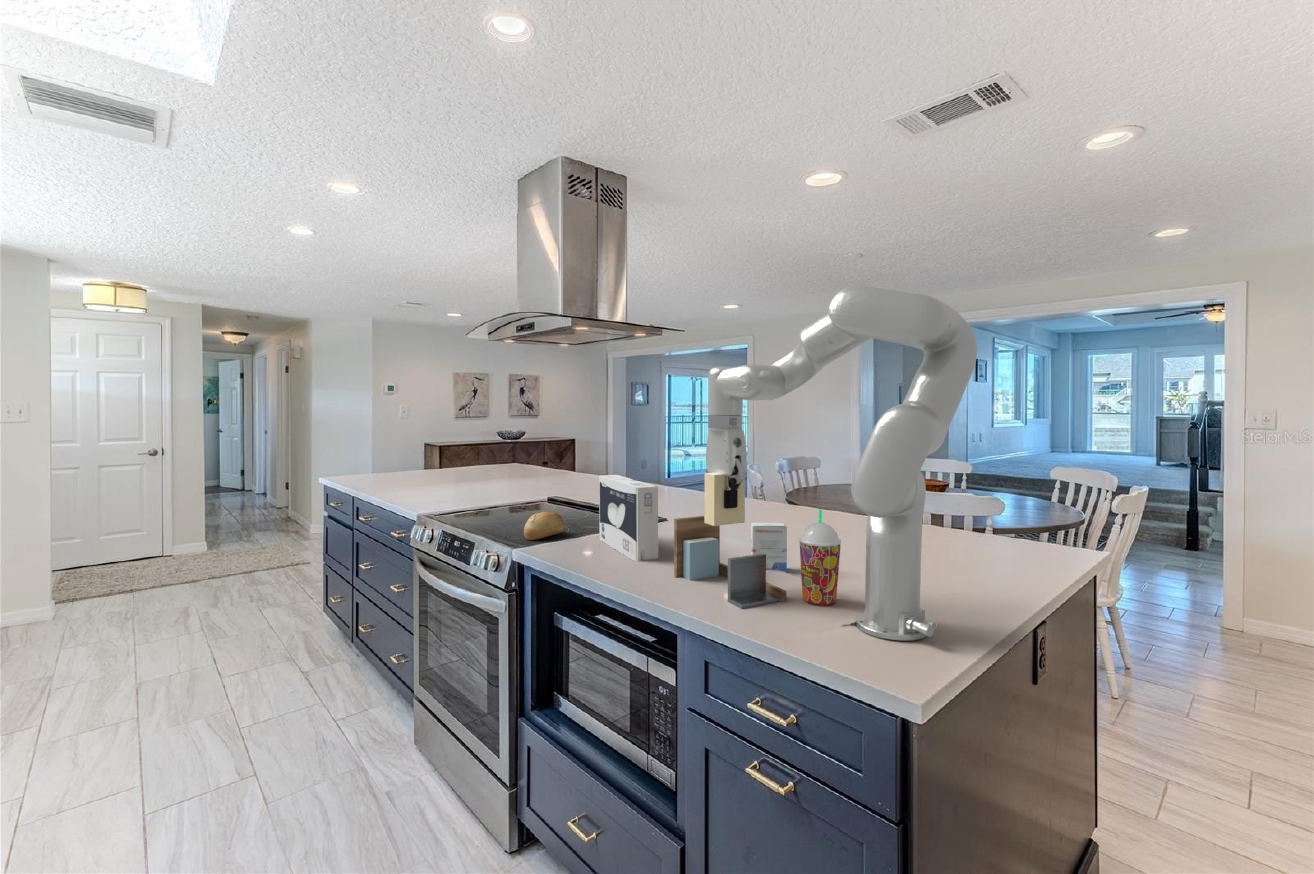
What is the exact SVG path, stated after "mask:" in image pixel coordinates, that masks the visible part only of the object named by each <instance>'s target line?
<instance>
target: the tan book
mask: <svg viewBox="0 0 1314 874" xmlns="http://www.w3.org/2000/svg"><path fill="white" fill-rule="evenodd" d="M732 475H734V474H733V473H732ZM732 479H733V478H730V482H731V481H732ZM724 490H726V485H725V476H724V475H722V474H717V473H706V472H705V473H704V501H703V502H704V510H703V511H704V513H703V514H704V515H703V516H704V523H707V524H710V525H713V526H719V525H720V526H726V525H727V526H728V525H733V524H734V525H735V524H736V525H737V524H745V523H746V520H745V519H746V509H745V508H746V478H745V479H744V480H743V481H742V482H741V484H740V485H739V490H738V504H737V508H729V509H726V508H724Z"/></svg>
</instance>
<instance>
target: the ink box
mask: <svg viewBox="0 0 1314 874" xmlns="http://www.w3.org/2000/svg"><path fill="white" fill-rule="evenodd" d="M750 525H751V526H750V527H751V528H750V532H751V533H750V555H756V554H766V570H779V571H781V572H784V573H787V571H788V566H787V564H788V561H787V558H788V553H787V552H788V537H787V536H788V530H787V529H788V528H787V527H788V526H787V525H786V524H785V523H783V522H751V523H750Z"/></svg>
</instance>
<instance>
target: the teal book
mask: <svg viewBox="0 0 1314 874" xmlns="http://www.w3.org/2000/svg"><path fill="white" fill-rule="evenodd" d="M719 574H720V573H719V539H716V538H713V537H708V538H700V539H692V540H683V577H682V578H685V579H686V580H688V581H694V580H701V579H706V578H712V577H719V576H720V575H719Z"/></svg>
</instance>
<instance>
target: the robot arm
mask: <svg viewBox="0 0 1314 874" xmlns="http://www.w3.org/2000/svg"><path fill="white" fill-rule="evenodd" d="M871 339H874V340H878V341H883V342H889V343H895V344H899V345H902V346H906V347H907V346H908V347H912V348H916V349H919V350H921V351H922V353H923V359H922V362H921V363H920V365H919V367H918V369H917V370H916V372H915V375H914V377H913V378H912V381H911V384H910V387H909V388H908V390H907V393H906V394H905V397H904V400H903V401H902V403H901V404H897V405H894V406H892V407H891V408H888V410H886V411H885V412H884V413H883V414H882V415H881V416H880V417H879V419H878V420H877V422H876V424H875V425H874V427H873V429H872V431H871V434H870V436H869V438H868V441H867V443H866V445H865V448H864V451H863V453H862V455H861V458H860V460H859V462H858V465H857V466H856V469H855V471H854V475H853V477H852V481H851V488H850V489H851V491H850V493H851V496H852V500H853V501H854V503H855V506H856V507H857V508H858V509H859V510H860V511H861V512H862V513H863V514H865V515H867V520H866V531H865V533H866V534H865V569H864V570H865V573H864V574H865V575H864V576H865V577H864V578H865V579H864V612H861V613H859V614H857V616H856V618H855V624H856V626H857V628H858V629H859V630H860V631H862V632H864V633H865V634H868V635H871V636H873V637H876V638H881V639H886V640H891V641H901V642H903V641H904V642H905V641H908V642H910V641H917V640H922V639H924V638H926V637H928V638H929V637H931V636H933V634H934V633H935V630H936V629H937V627H938V626H937V622H935V621H932V620H930V619H926V609H923V608H921V582H922V581H921V576H922V573H921V572H922V568H921V567H922V547H923V545H922V543H923V542H922V540H923V539H922V538H923V537H922V536H923V534H922V533H923V522H924V511H925V503H926V493H927V489H926V481H925V477H924V475H923V473H922V472H921V469H922V467H923V465H924V463H925V461H926V459H927V457H928V456H929V455H932V454H933V453H935V452H936V451H937V450H940V447H941V446H942V445H943V444H944V442H945V438H946V437H947V433H948V431H949V429H950V426H951V424H952V422H953V419H954V417H955V414H957V410H958V408H959V406H960V404H961V401H962V399H963V395H964V393H965V392H966V389H967V387H968V386H969V382H970V381H971V377H972V375H973V372H974V369H975V366H976V362H977V356H978V346H977V344H978V343H977V339H976V335H975V334H974V331H973V329H972V327H971V326H970V325H969V323H968V322H967V321H966V319H965V318H964V317H963V316H962V315H961V314H960V313H959V312H958V311H957V310H955V309H954V308H953V307H951V306H949V304H946V303H945V302H942V301H941V300H939V299H937V298H935V297H933V296H930V295H927V294H922V293H916V292H910V291H909V292H908V291H901V290H895V289H894V290H893V289H885V288H879V287H873V286H868V285H862V284H861V285H860V284H859V285H858V284H856V285H855V284H854V285H849V286H846V287H844V288H842V289H841V290H839V291H838V292H837V293H836V294H835V295H834V296H833V297H832V299H831V301H830V303H829V306H828V312H827V313H825V314H824V315H823V316H821V317H819V318H817V320H814V321H813V322H811V323H809V324H808V325H807V326H805V327H804V328H802V329H801V331H800V332H799V336H798V343H797V345H796V347H795V348H794V349H793V350H792V351H791V352H789V353H788V354H787V355H785V356H784V357H781V358H780V359H779V360H777V361H775V362H773V363H771V364H770V365H764V364H753V363H748V364H743V365H738V366H715V367H712V368H711V369H710V370H709V371H708V374H707V375H708V376H707V377H708V378H707V379H708V380H707V383H708V384H707V389H708V390H707V394H708V395H707V397H708V398H707V414H708V415H707V426H708V427H707V430H708V431H707V437H706V438H707V439H706V448H705V449H706V452H705V466H706V467H705V468H706V469H705V473H717V474H722V475H724V476H725V485H726V490H724V508H726V509H729V508H737V504H738V490H739V485H740V484H741V482H742V481H743V480H744V479H745V480H746V474H747V473H748V457H747V442H746V436H745V431H744V430H743V413H744V412H743V404H744V403H743V402H744V401H743V400H745V401H774V400H777V399H781V398H782V397H784V396H785V395H788V394H790V392H793V391H795V390H796V389H798V388H800V387H801V386H803V385H805V384H806V383H808V382H809V381H810V380H812V379H813V378H814V377H815V376H816V375H817V374H818V373H820V372H821V371H822V370H823V368H824V367H826V366H827V365H829V364H830V363H832V362H834V361H835V360H837V359H840V358H841V357H842V356H844V355H846V354H848V353H850V352H851V351H853V350H854V349H856V348H857V347H860V346H861V345H863V344H865V343H866V342H868V341H870V340H871ZM732 473H733V474H734V475H732ZM730 478H733V479H732V481H731V482H730Z"/></svg>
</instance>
